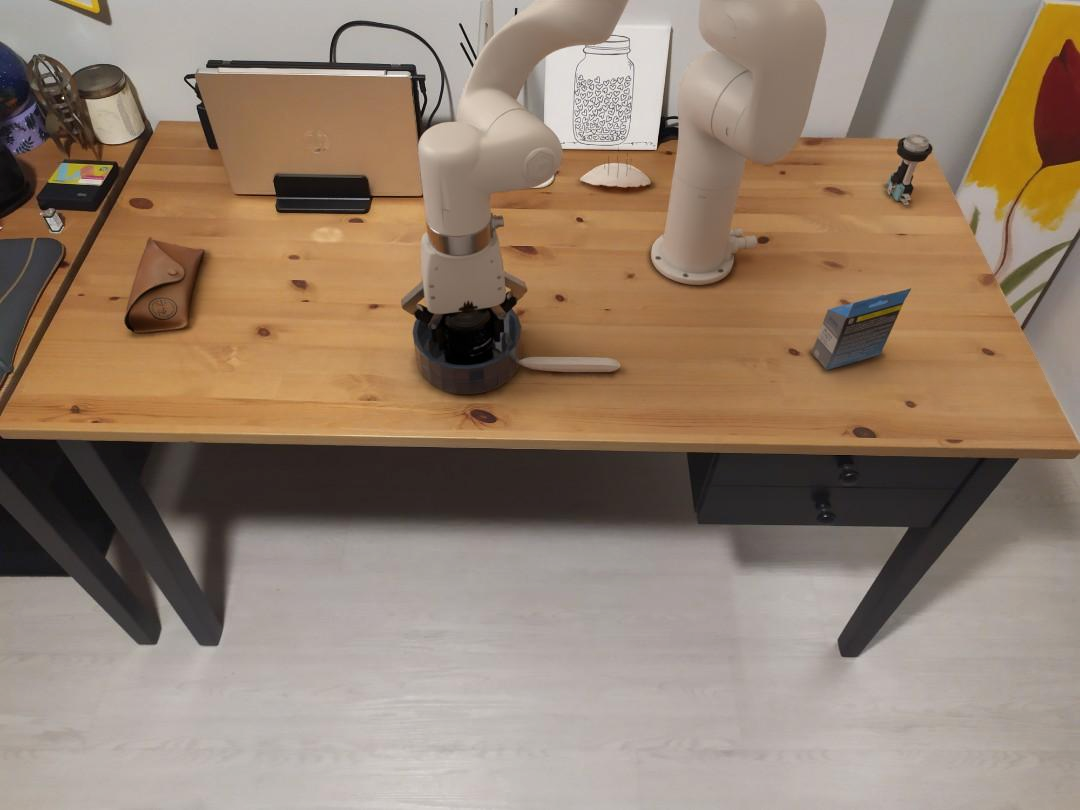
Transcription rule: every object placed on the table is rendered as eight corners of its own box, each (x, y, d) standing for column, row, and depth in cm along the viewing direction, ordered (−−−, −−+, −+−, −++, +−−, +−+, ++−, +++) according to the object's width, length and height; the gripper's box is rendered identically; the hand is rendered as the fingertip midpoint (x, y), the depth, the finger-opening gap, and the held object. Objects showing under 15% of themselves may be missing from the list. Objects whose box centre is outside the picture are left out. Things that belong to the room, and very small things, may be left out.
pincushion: (579, 192, 136) (581, 163, 132) (580, 172, 140) (581, 143, 136) (650, 195, 136) (654, 166, 132) (649, 175, 140) (653, 145, 136)
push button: (920, 206, 135) (943, 153, 127) (889, 207, 135) (911, 154, 127) (905, 183, 139) (927, 130, 132) (875, 185, 139) (895, 131, 131)
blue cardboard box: (864, 337, 114) (894, 269, 105) (881, 356, 112) (913, 287, 102) (810, 352, 112) (835, 284, 103) (826, 372, 110) (853, 303, 100)
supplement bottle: (487, 377, 108) (483, 309, 99) (438, 369, 108) (429, 301, 99) (499, 341, 112) (497, 274, 103) (452, 334, 113) (445, 266, 104)
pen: (516, 364, 110) (516, 355, 109) (619, 365, 110) (621, 356, 109) (516, 372, 109) (516, 363, 108) (620, 373, 109) (621, 364, 108)
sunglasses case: (191, 326, 113) (151, 297, 109) (155, 348, 116) (114, 321, 111) (206, 246, 125) (171, 217, 120) (173, 268, 127) (137, 240, 123)
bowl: (510, 316, 116) (509, 287, 112) (531, 388, 107) (531, 359, 103) (411, 330, 114) (407, 301, 110) (424, 404, 105) (419, 375, 101)
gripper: (525, 202, 98) (526, 311, 112) (381, 220, 96) (400, 329, 109) (539, 240, 93) (537, 349, 107) (388, 259, 91) (406, 369, 104)
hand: (468, 338), depth 108 cm, fingers closed on supplement bottle, 6 cm apart
